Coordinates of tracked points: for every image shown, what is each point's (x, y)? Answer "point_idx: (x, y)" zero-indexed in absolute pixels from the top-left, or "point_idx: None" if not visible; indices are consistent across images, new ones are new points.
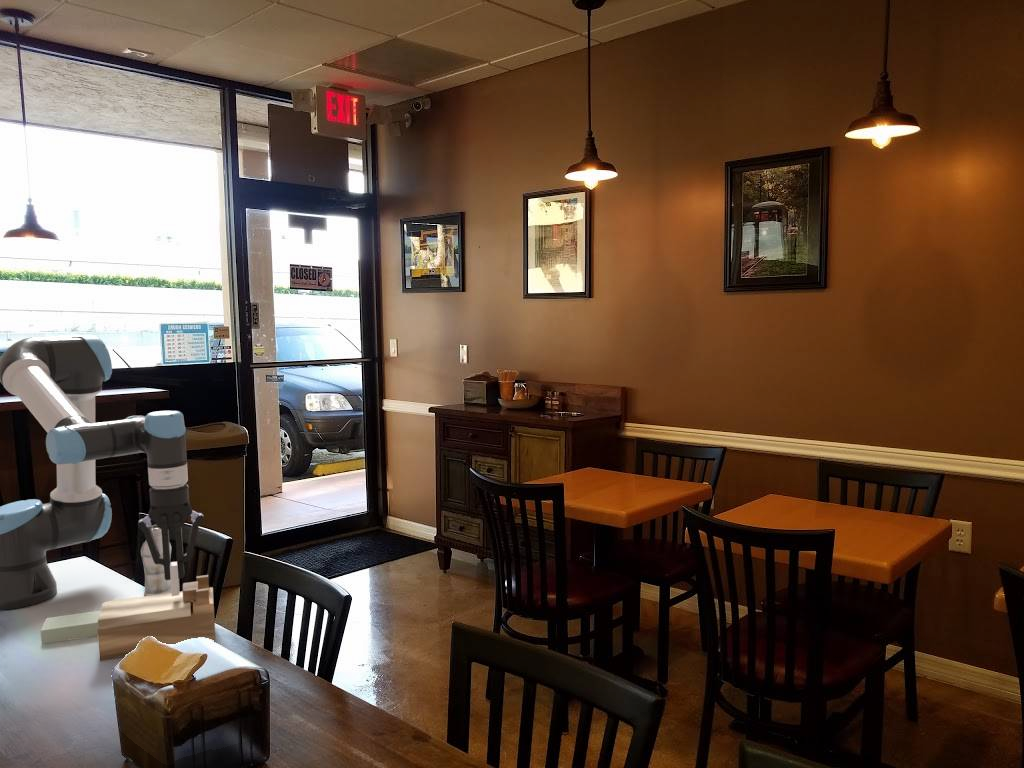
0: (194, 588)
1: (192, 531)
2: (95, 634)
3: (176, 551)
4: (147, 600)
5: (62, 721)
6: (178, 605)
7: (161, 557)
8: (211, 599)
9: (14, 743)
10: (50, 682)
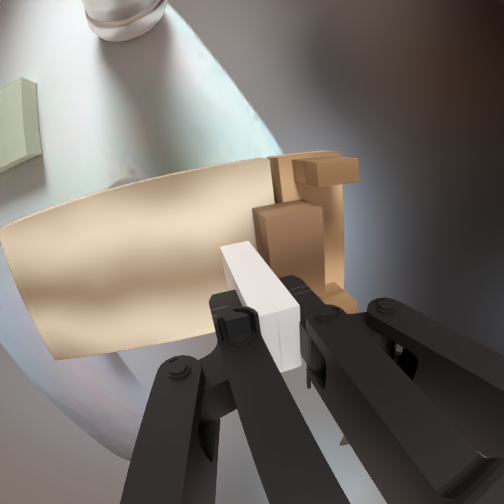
0: (314, 286)
1: (491, 451)
2: (18, 163)
3: (338, 425)
4: (124, 238)
5: (132, 431)
6: None
7: (218, 399)
8: (339, 266)
9: (110, 447)
10: (46, 350)
